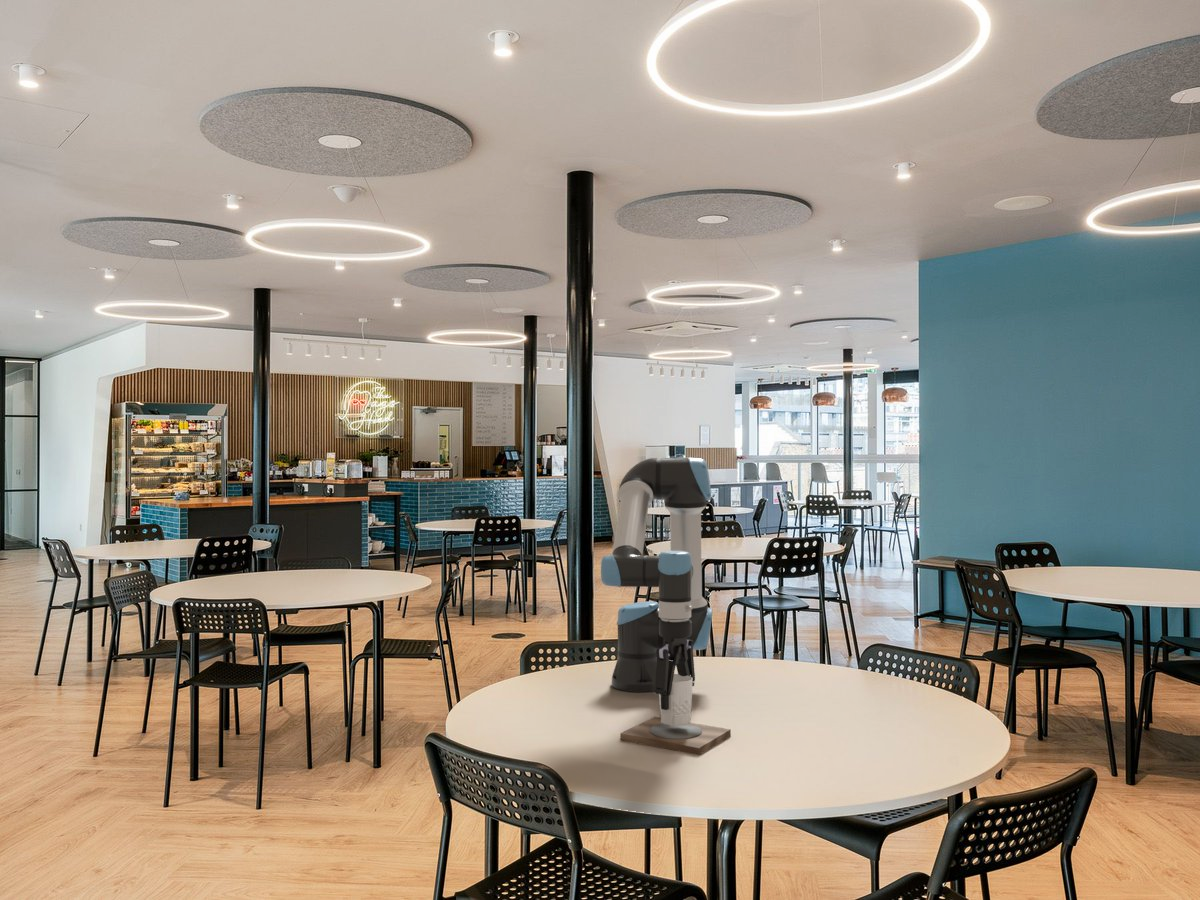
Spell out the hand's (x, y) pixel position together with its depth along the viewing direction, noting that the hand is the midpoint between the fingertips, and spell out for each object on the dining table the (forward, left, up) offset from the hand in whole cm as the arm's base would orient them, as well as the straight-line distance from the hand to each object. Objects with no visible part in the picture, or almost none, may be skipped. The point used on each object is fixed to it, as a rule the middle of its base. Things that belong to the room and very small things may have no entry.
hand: (675, 718), depth 205 cm
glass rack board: (0, 0, -4) cm, 4 cm away
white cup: (0, 0, -1) cm, 1 cm away
